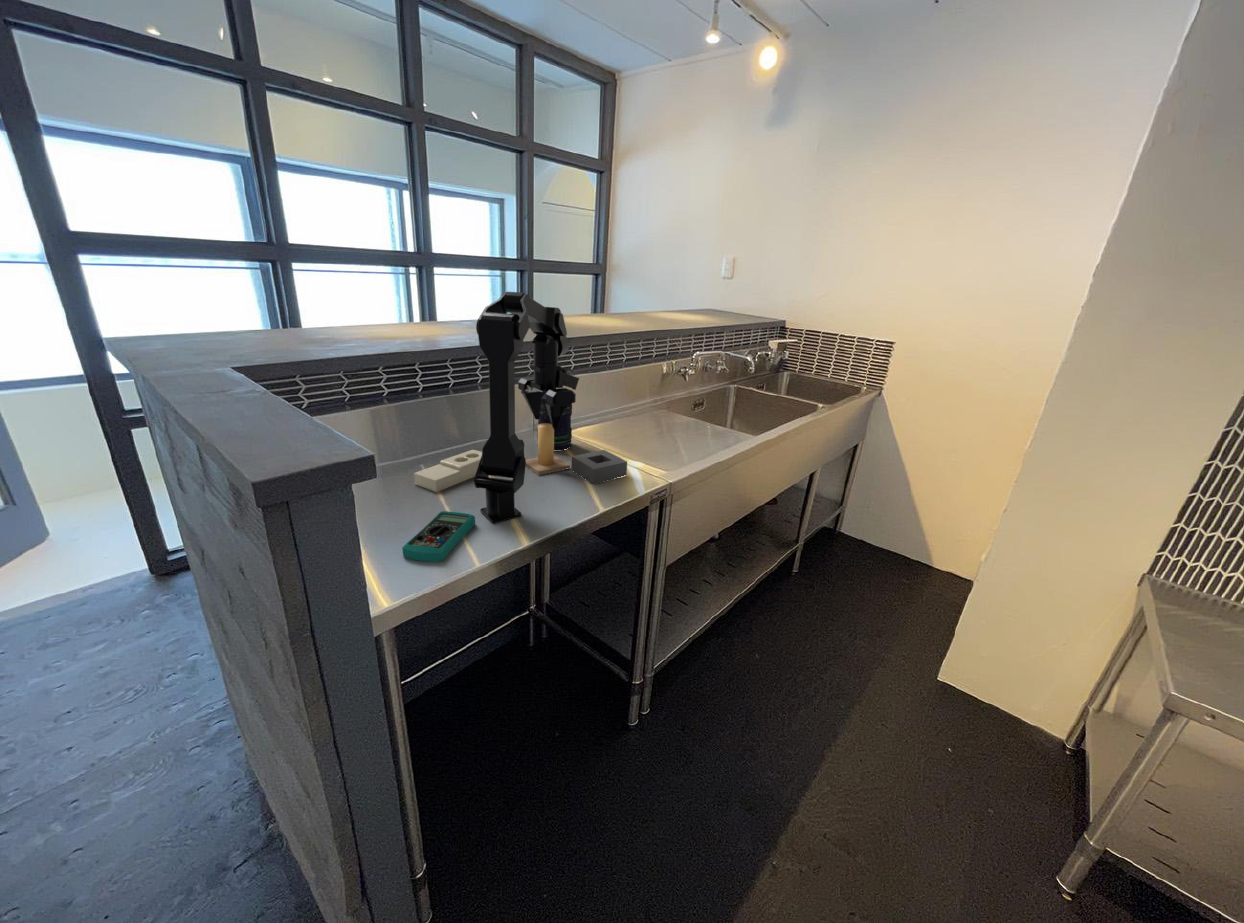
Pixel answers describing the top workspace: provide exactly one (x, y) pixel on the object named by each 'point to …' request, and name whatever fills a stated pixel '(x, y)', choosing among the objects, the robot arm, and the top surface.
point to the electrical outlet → (449, 471)
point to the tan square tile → (543, 469)
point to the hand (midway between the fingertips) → (545, 423)
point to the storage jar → (564, 428)
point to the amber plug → (545, 444)
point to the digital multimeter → (439, 537)
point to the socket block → (598, 466)
